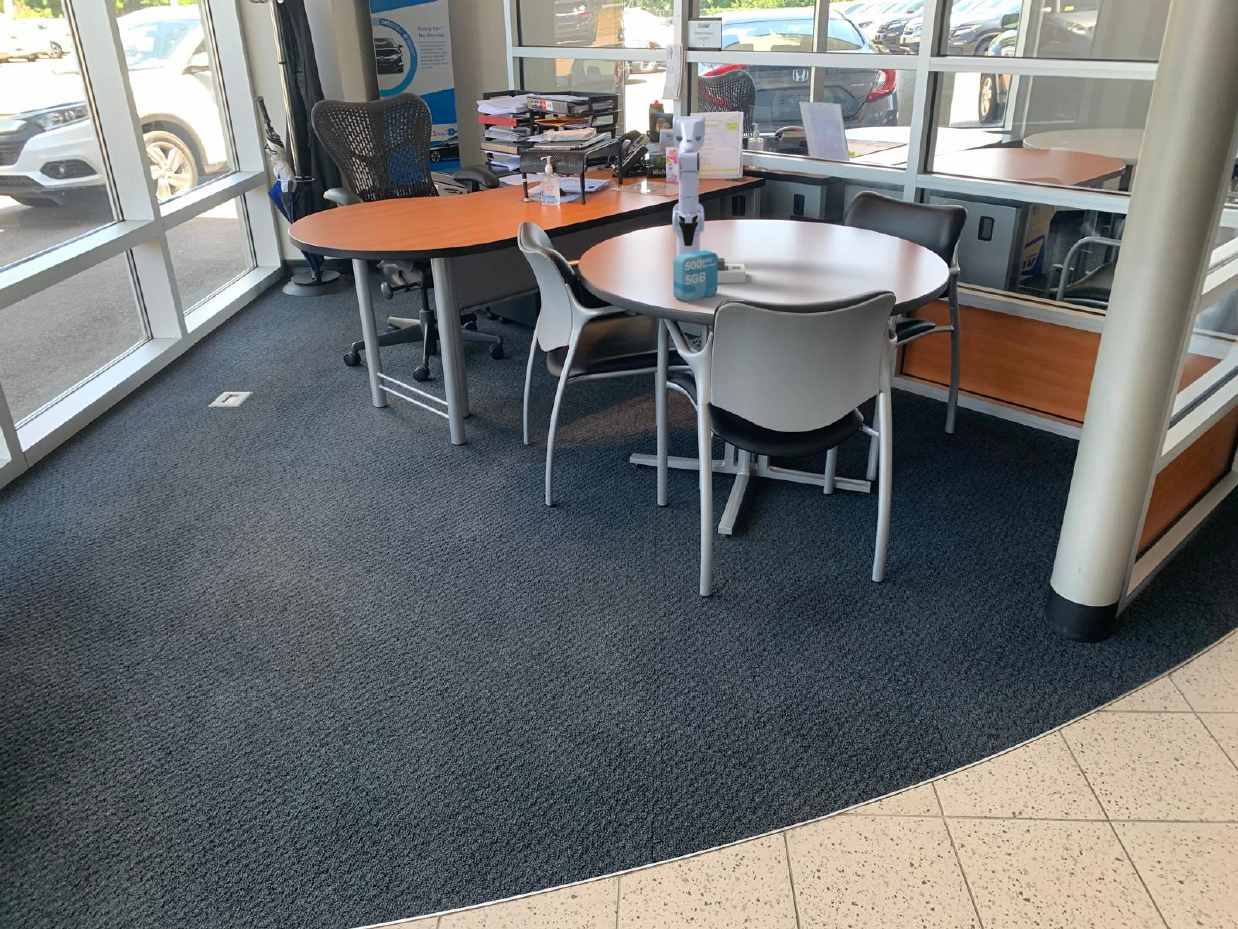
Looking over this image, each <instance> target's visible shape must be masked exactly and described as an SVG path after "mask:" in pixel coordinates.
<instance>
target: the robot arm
mask: <svg viewBox="0 0 1238 929" xmlns="http://www.w3.org/2000/svg"><path fill="white" fill-rule="evenodd" d="M705 134H706V117H705V116H704V115H697V116H696V115H695V116H693V115H692V116H691V115H690V116H689V115H688V116H677V115H675V116H674V117H673V118H672V137H673V141H672V142H673V144H674V148H675V149H677V150H678V154H677V160H676V161H677V175H678V179H677V180H678V203H676V204H675V205H674V206H673V208H672V232H673V233H675V234H676V256H677V255H681V254H686V253H692V252H697V251H701V248H700V247H701V233H703V232H705V208H704V206H703V204H701V203H699V199H700V198H699V192H700V191H699V189H700V188H699V186H700V184H699V182H700V180H699V179H700V172H701V153H700V152H701V151H700V149H701V148H703V147H704V143H705V136H706V135H705Z"/></svg>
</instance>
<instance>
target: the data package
mask: <svg viewBox="0 0 1238 929" xmlns="http://www.w3.org/2000/svg"><path fill="white" fill-rule="evenodd" d="M718 258H719V256H718V254H717V253H716V252H712V251H711V250H710V251H709V250H707V249H704V250H700V251H697V252H692V253H686V254H681V255H677V254H676V256H675V257H674V258H673V262H672V264H673V268H672V269H673V270H672V271H673V274H672V276H673V277H672V278H673V289H672V290H673V297H674V298H675V299H678V300H681V301H683V302H691V301H695V299H696V300H699V298H701V299H704V298H709V297H713V296H715V295H716V294H717V292H718V283H717V280H718Z"/></svg>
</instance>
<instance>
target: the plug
mask: <svg viewBox="0 0 1238 929" xmlns="http://www.w3.org/2000/svg"><path fill="white" fill-rule="evenodd" d="M725 264H726V262H725V257H721V258H720V257H718V271H725Z"/></svg>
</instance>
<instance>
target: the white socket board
mask: <svg viewBox="0 0 1238 929" xmlns="http://www.w3.org/2000/svg"><path fill="white" fill-rule="evenodd" d="M723 283H724V284H729V283H730V284H731V283H732V284H733V283H735V284H736V283H737V284H739V283H741V284H744V283H746V268H745V264H744V263H725V271H718V280H717V284H723Z"/></svg>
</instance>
